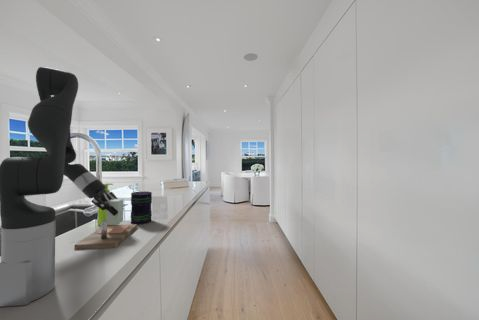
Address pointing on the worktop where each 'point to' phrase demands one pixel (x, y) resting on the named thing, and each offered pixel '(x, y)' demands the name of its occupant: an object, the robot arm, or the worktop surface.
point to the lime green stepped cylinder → (101, 212)
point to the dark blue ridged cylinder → (141, 207)
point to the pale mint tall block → (119, 216)
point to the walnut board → (109, 242)
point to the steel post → (103, 229)
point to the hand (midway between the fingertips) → (119, 212)
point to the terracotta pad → (115, 229)
